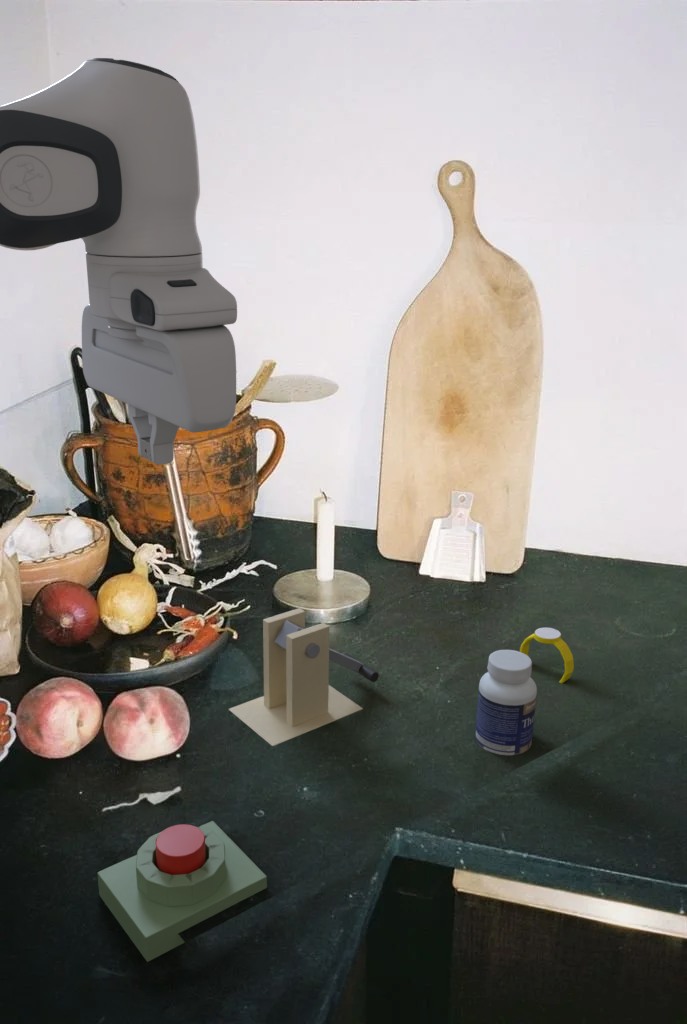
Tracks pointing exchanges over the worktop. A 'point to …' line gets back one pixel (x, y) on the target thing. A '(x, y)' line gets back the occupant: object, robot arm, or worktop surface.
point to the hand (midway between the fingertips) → (156, 460)
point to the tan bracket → (294, 683)
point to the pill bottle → (506, 704)
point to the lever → (330, 653)
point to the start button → (180, 849)
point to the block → (176, 891)
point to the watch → (554, 638)
